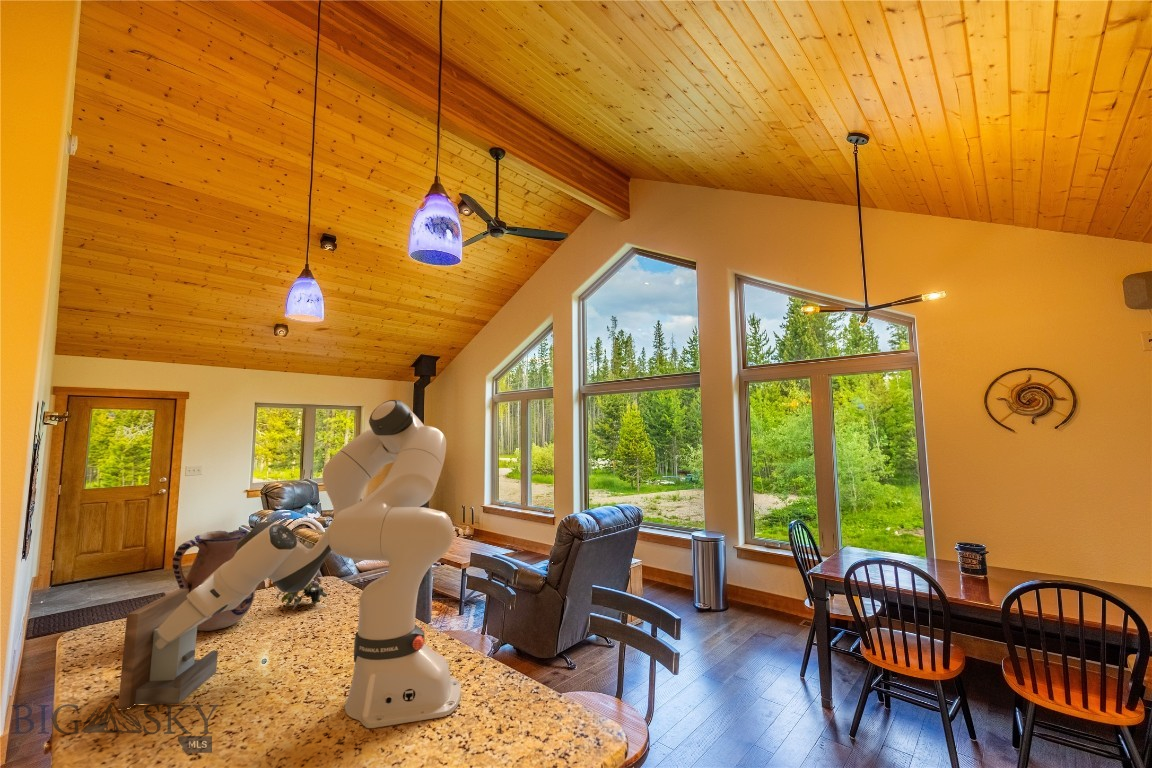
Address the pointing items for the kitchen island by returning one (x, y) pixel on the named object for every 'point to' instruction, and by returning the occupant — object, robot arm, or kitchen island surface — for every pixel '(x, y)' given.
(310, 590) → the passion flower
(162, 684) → the wall board
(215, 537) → the ceramic pitcher
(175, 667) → the grey box with notch
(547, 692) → the kitchen island surface
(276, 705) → the kitchen island surface
